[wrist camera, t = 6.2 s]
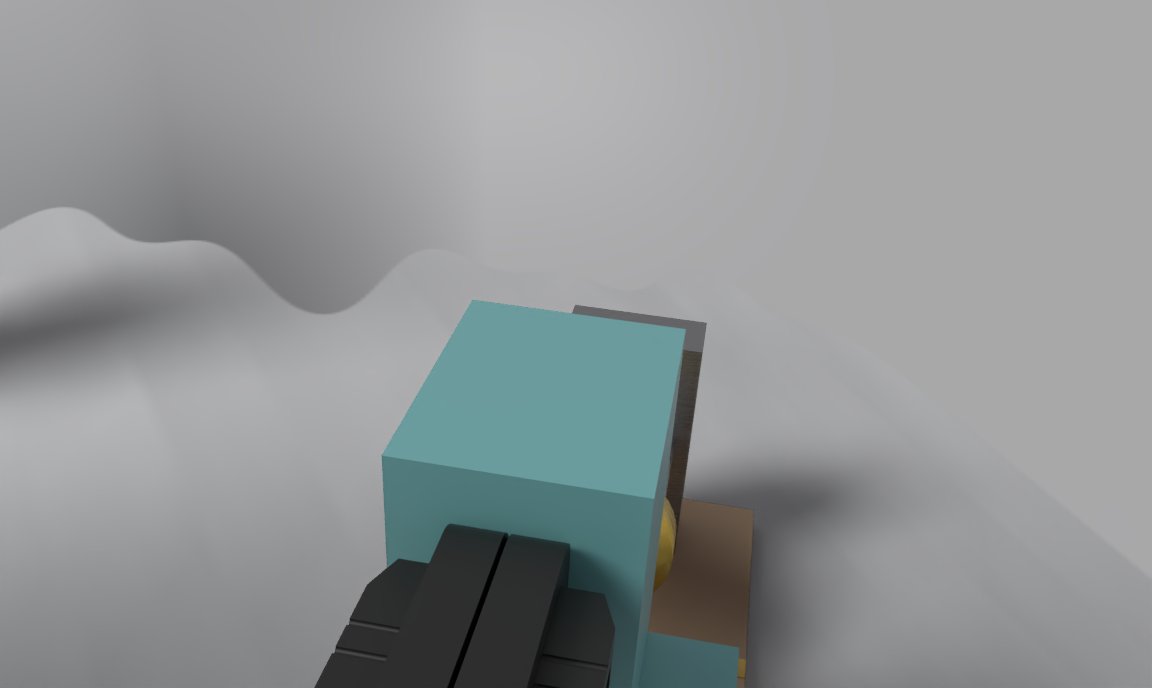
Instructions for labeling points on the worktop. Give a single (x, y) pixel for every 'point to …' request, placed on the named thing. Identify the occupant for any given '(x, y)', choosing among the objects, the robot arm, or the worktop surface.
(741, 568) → the board
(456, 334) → the sleeve
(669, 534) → the pipe
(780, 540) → the worktop surface
